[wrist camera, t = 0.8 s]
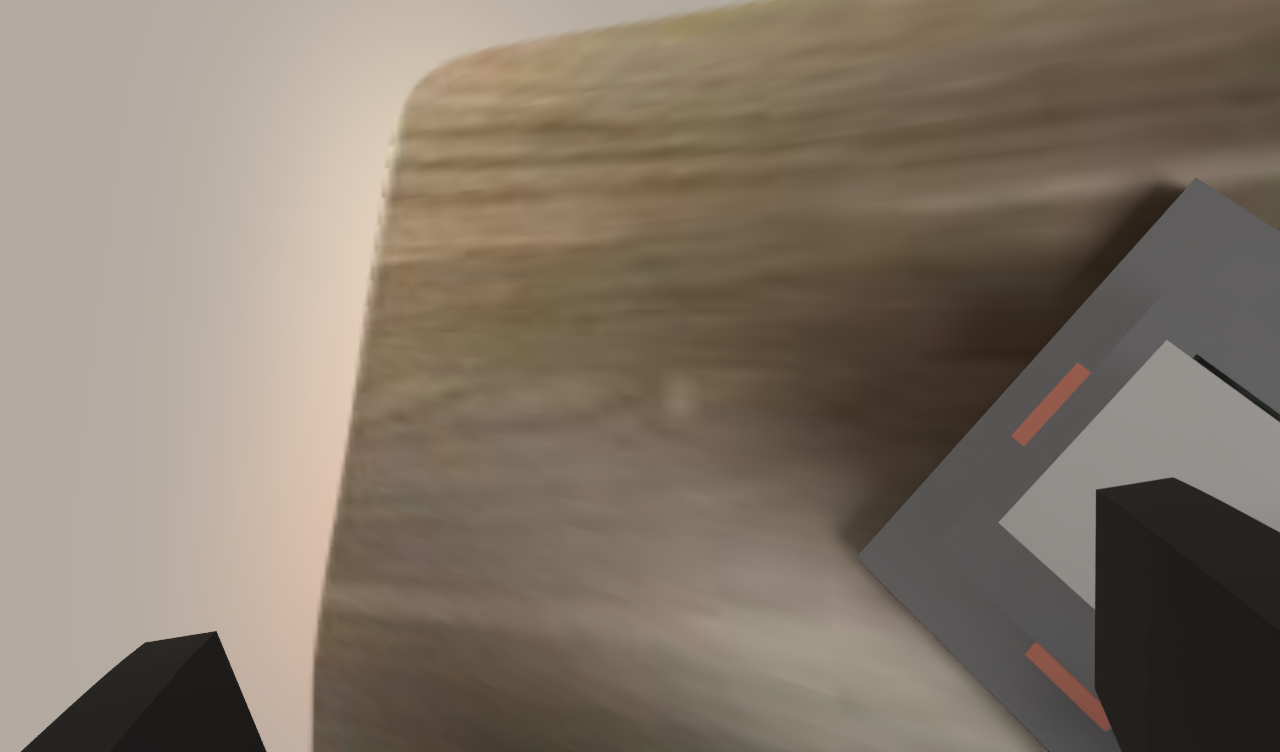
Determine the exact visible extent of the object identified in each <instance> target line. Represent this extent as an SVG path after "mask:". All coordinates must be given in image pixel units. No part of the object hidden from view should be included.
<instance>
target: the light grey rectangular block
mask: <svg viewBox="0 0 1280 752" xmlns="http://www.w3.org/2000/svg"><path fill="white" fill-rule="evenodd" d="M1171 477H1174V478H1176V479H1178V480H1180V481H1182V482H1185V483H1187V484H1189V485H1191V486H1193V487H1195V488H1197V489H1199V490H1201V491H1203V492H1205V493H1207V494H1209V495H1211V496H1213V497H1215V498H1217V499H1219V500H1221V501H1222V502H1224V503H1226V504H1228V505H1230V506H1232V507H1234V508H1236V509H1238V510H1239V511H1241V512H1243V513H1245V514H1247V515H1249V516H1251V517H1253V518H1254V519H1256V520H1258V521H1260V522H1262V523H1264V524H1266V525H1267V526H1269V527H1271V528H1273V529H1275V530H1277V531H1278V532H1280V422H1279V421H1277V420H1276V419H1274V418H1273V417H1272V416H1270V415H1269V414H1268V413H1266V412H1265V411H1263V410H1262V409H1261V408H1259V407H1258V406H1257V405H1255V404H1254V403H1253V402H1251V401H1250V400H1248V399H1247V398H1246V397H1244V396H1243V395H1242V394H1240V393H1239V392H1237V391H1236V390H1235V389H1233V388H1232V387H1231V386H1229V385H1228V384H1227V383H1225V382H1224V381H1222V380H1221V379H1220V378H1218V377H1217V376H1216V375H1214V374H1213V373H1211V372H1210V371H1209V370H1207V369H1206V368H1205V367H1203V366H1202V365H1201V364H1199V363H1198V362H1196V361H1195V360H1194V359H1192V358H1191V357H1190V356H1188V355H1187V354H1185V353H1184V352H1183V351H1181V350H1180V349H1179V348H1177V347H1176V346H1174V345H1173V344H1172V343H1170V342H1169V341H1168V340H1166V341H1165V342H1164V343H1163V345H1162V346H1161V347H1160V348H1159V349H1158V350H1157V351H1156V352H1155V353H1154V354H1153V355H1152V356H1151V358H1150V359H1149V360H1148V361H1147V362H1146V363H1145V364H1144V365H1143V366H1142V367H1141V368H1140V369H1139V371H1138V372H1137V373H1136V374H1135V375H1134V376H1133V377H1132V378H1131V379H1130V380H1129V381H1128V382H1127V384H1126V385H1125V386H1124V387H1123V388H1122V389H1121V390H1120V391H1119V392H1118V393H1117V394H1116V395H1115V397H1114V398H1113V399H1112V400H1111V401H1110V402H1109V403H1108V404H1107V405H1106V406H1105V407H1104V409H1103V410H1102V411H1101V412H1100V413H1099V414H1098V415H1097V416H1096V417H1095V418H1094V419H1093V420H1092V422H1091V423H1090V424H1089V425H1088V426H1087V427H1086V428H1085V429H1084V430H1083V431H1082V432H1081V433H1080V435H1079V436H1078V437H1077V438H1076V439H1075V440H1074V441H1073V442H1072V443H1071V444H1070V445H1069V446H1068V448H1067V449H1066V450H1065V451H1064V452H1063V453H1062V454H1061V455H1060V456H1059V457H1058V458H1057V459H1056V461H1055V462H1054V463H1053V464H1052V465H1051V466H1050V467H1049V468H1048V469H1047V470H1046V471H1045V472H1044V474H1043V475H1042V476H1041V477H1040V478H1039V479H1038V480H1037V481H1036V482H1035V483H1034V484H1033V485H1032V487H1031V488H1030V489H1029V490H1028V491H1027V492H1026V493H1025V494H1024V495H1023V496H1022V497H1021V498H1020V500H1019V501H1018V502H1017V503H1016V504H1015V505H1014V506H1013V507H1012V508H1011V509H1010V510H1009V511H1008V513H1007V514H1006V515H1005V516H1004V517H1003V518H1002V519H1001V520H1000V521H999V522H998V523H999V524H1000V525H1002V526H1003V527H1004V528H1005V529H1006V530H1007V531H1008V532H1009V533H1010V534H1012V535H1013V536H1014V537H1015V538H1016V539H1017V540H1018V541H1019V542H1020V543H1022V544H1023V545H1024V546H1025V547H1026V548H1027V549H1028V550H1029V551H1030V552H1031V553H1033V554H1034V555H1035V556H1036V557H1037V558H1038V559H1039V560H1040V561H1041V562H1043V563H1044V564H1045V565H1046V566H1047V567H1048V568H1049V569H1050V570H1051V571H1053V572H1054V573H1055V574H1056V575H1057V576H1058V577H1059V578H1060V579H1061V580H1063V581H1064V582H1065V583H1066V584H1067V585H1068V586H1069V587H1070V588H1071V589H1073V590H1074V591H1075V592H1076V593H1077V594H1078V595H1079V596H1080V597H1081V598H1082V599H1084V600H1085V601H1086V602H1087V603H1088V604H1089V605H1090V606H1091V607H1092V608H1094V609H1095V537H1096V490H1097V489H1103V488H1109V487H1115V486H1121V485H1128V484H1134V483H1140V482H1146V481H1152V480H1159V479H1165V478H1171Z"/></svg>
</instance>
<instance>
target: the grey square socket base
mask: <svg viewBox="0 0 1280 752" xmlns="http://www.w3.org/2000/svg"><path fill="white" fill-rule="evenodd" d="M1166 340H1168V341H1169V342H1170V343H1172V344H1173V345H1174V346H1176V347H1177V348H1179V349H1180V350H1181V351H1183V352H1184V353H1185V354H1187V355H1188V356H1190V357H1191V358H1192V359H1194V360H1195V361H1196V362H1198V363H1199V364H1201V365H1202V366H1203V367H1205V368H1206V369H1207V370H1209V371H1210V372H1211V373H1213V374H1214V375H1216V376H1217V377H1218V378H1220V379H1221V380H1222V381H1224V382H1225V383H1227V384H1228V385H1229V386H1231V387H1232V388H1233V389H1235V390H1236V391H1237V392H1239V393H1240V394H1242V395H1243V396H1244V397H1246V398H1247V399H1248V400H1250V401H1251V402H1253V403H1254V404H1255V405H1257V406H1258V407H1259V408H1261V409H1262V410H1263V411H1265V412H1266V413H1268V414H1269V415H1270V416H1272V417H1273V418H1274V419H1276V420H1277V421H1279V422H1280V231H1279V230H1277V229H1275V228H1274V227H1272V226H1271V225H1269V224H1268V223H1266V222H1264V221H1263V220H1261V219H1260V218H1258V217H1257V216H1255V215H1253V214H1252V213H1250V212H1249V211H1247V210H1246V209H1244V208H1243V207H1241V206H1239V205H1238V204H1236V203H1235V202H1233V201H1232V200H1230V199H1228V198H1227V197H1225V196H1224V195H1222V194H1221V193H1219V192H1217V191H1216V190H1214V189H1213V188H1211V187H1210V186H1208V185H1206V184H1205V183H1203V182H1202V181H1200V180H1199V179H1197V178H1195V179H1194V180H1193V182H1192V183H1191V184H1190V185H1189V186H1188V187H1187V188H1186V189H1185V191H1184V192H1183V193H1182V194H1181V195H1180V196H1179V197H1178V198H1177V199H1176V201H1175V202H1174V203H1173V204H1172V205H1171V206H1170V207H1169V208H1168V210H1167V211H1166V212H1165V213H1164V214H1163V215H1162V216H1161V217H1160V218H1159V220H1158V221H1157V222H1156V223H1155V224H1154V225H1153V226H1152V227H1151V228H1150V230H1149V231H1148V232H1147V233H1146V234H1145V235H1144V236H1143V237H1142V239H1141V240H1140V241H1139V242H1138V243H1137V244H1136V245H1135V246H1134V247H1133V249H1132V250H1131V251H1130V252H1129V253H1128V254H1127V255H1126V256H1125V258H1124V259H1123V260H1122V261H1121V262H1120V263H1119V264H1118V265H1117V266H1116V268H1115V269H1114V270H1113V271H1112V272H1111V273H1110V274H1109V275H1108V277H1107V278H1106V279H1105V280H1104V281H1103V282H1102V283H1101V284H1100V285H1099V287H1098V288H1097V289H1096V290H1095V291H1094V292H1093V293H1092V294H1091V296H1090V297H1089V298H1088V299H1087V300H1086V301H1085V302H1084V303H1083V304H1082V306H1081V307H1080V308H1079V309H1078V310H1077V311H1076V312H1075V313H1074V315H1073V316H1072V317H1071V318H1070V319H1069V320H1068V321H1067V322H1066V323H1065V325H1064V326H1063V327H1062V328H1061V329H1060V330H1059V331H1058V332H1057V334H1056V335H1055V336H1054V337H1053V338H1052V339H1051V340H1050V341H1049V342H1048V344H1047V345H1046V346H1045V347H1044V348H1043V349H1042V350H1041V351H1040V352H1039V354H1038V355H1037V356H1036V357H1035V358H1034V359H1033V360H1032V361H1031V363H1030V364H1029V365H1028V366H1027V367H1026V368H1025V369H1024V370H1023V371H1022V373H1021V374H1020V375H1019V376H1018V377H1017V378H1016V379H1015V380H1014V382H1013V383H1012V384H1011V385H1010V386H1009V387H1008V388H1007V389H1006V390H1005V392H1004V393H1003V394H1002V395H1001V396H1000V397H999V398H998V399H997V401H996V402H995V403H994V404H993V405H992V406H991V407H990V408H989V409H988V411H987V412H986V413H985V414H984V415H983V416H982V417H981V418H980V420H979V421H978V422H977V423H976V424H975V425H974V426H973V427H972V428H971V430H970V431H969V432H968V433H967V434H966V435H965V436H964V437H963V439H962V440H961V441H960V442H959V443H958V444H957V445H956V446H955V447H954V449H953V450H952V451H951V452H950V453H949V454H948V455H947V456H946V458H945V459H944V460H943V461H942V462H941V463H940V464H939V465H938V466H937V468H936V469H935V470H934V471H933V472H932V473H931V474H930V475H929V476H928V478H927V479H926V480H925V481H924V482H923V483H922V484H921V485H920V487H919V488H918V489H917V490H916V491H915V492H914V493H913V494H912V495H911V497H910V498H909V499H908V500H907V501H906V502H905V503H904V504H903V506H902V507H901V508H900V509H899V510H898V511H897V512H896V513H895V514H894V516H893V517H892V518H891V519H890V520H889V521H888V522H887V523H886V525H885V526H884V527H883V528H882V529H881V530H880V531H879V532H878V533H877V535H876V536H875V537H874V538H873V539H872V540H871V541H870V542H869V544H868V545H867V546H866V547H865V548H864V549H863V550H862V551H861V552H860V554H859V555H858V556H857V557H856V558H857V559H858V560H859V561H860V562H861V563H862V564H863V565H864V566H865V567H866V568H867V569H868V570H869V571H870V572H871V573H872V574H873V575H874V576H875V577H876V578H877V579H878V580H879V581H880V582H881V583H882V584H883V585H884V586H885V587H886V588H887V589H888V590H889V591H890V592H891V593H892V594H893V595H894V596H895V597H896V598H897V599H898V600H899V601H900V602H901V603H902V604H903V605H904V606H905V607H906V608H907V609H908V610H909V611H910V612H911V613H912V614H913V615H914V616H915V617H916V618H917V619H918V620H919V621H920V622H921V623H922V624H923V625H924V626H925V627H926V628H927V629H928V630H929V631H930V632H931V633H932V634H933V635H934V636H935V637H936V638H937V639H938V640H939V641H940V642H941V643H942V644H943V645H944V646H945V647H946V648H947V649H948V650H949V651H950V652H951V653H952V654H953V655H954V656H955V657H956V658H957V659H958V660H959V661H960V662H961V663H962V664H963V665H964V666H965V667H966V668H967V669H968V670H969V671H970V672H971V673H972V674H973V675H974V676H975V677H976V678H977V679H978V680H979V681H980V682H981V683H982V684H983V685H984V686H985V687H986V688H987V689H988V690H989V691H990V692H991V693H992V694H993V695H994V696H995V697H996V698H997V699H998V700H999V701H1000V702H1001V703H1002V704H1003V705H1004V706H1005V707H1006V708H1007V709H1008V710H1009V711H1010V712H1011V713H1012V714H1013V715H1014V716H1015V717H1016V718H1017V719H1018V720H1019V722H1020V723H1021V724H1022V725H1023V726H1024V727H1025V728H1026V729H1027V730H1028V731H1029V732H1030V733H1031V734H1032V735H1033V736H1034V737H1035V738H1036V739H1037V740H1038V741H1039V742H1040V743H1041V744H1042V745H1043V746H1044V747H1045V748H1046V749H1047V750H1048V751H1049V752H1121V749H1120V747H1119V745H1118V742H1117V740H1116V738H1115V735H1114V733H1113V730H1112V728H1111V726H1110V723H1109V721H1108V719H1107V716H1106V714H1105V712H1104V709H1103V707H1102V705H1101V702H1100V700H1099V698H1098V695H1097V693H1096V691H1095V609H1094V608H1092V607H1091V606H1090V605H1089V604H1088V603H1087V602H1086V601H1085V600H1084V599H1082V598H1081V597H1080V596H1079V595H1078V594H1077V593H1076V592H1075V591H1074V590H1073V589H1071V588H1070V587H1069V586H1068V585H1067V584H1066V583H1065V582H1064V581H1063V580H1061V579H1060V578H1059V577H1058V576H1057V575H1056V574H1055V573H1054V572H1053V571H1051V570H1050V569H1049V568H1048V567H1047V566H1046V565H1045V564H1044V563H1043V562H1041V561H1040V560H1039V559H1038V558H1037V557H1036V556H1035V555H1034V554H1033V553H1031V552H1030V551H1029V550H1028V549H1027V548H1026V547H1025V546H1024V545H1023V544H1022V543H1020V542H1019V541H1018V540H1017V539H1016V538H1015V537H1014V536H1013V535H1012V534H1010V533H1009V532H1008V531H1007V530H1006V529H1005V528H1004V527H1003V526H1002V525H1000V524H999V523H998V522H999V521H1000V520H1001V519H1002V518H1003V517H1004V516H1005V515H1006V514H1007V513H1008V511H1009V510H1010V509H1011V508H1012V507H1013V506H1014V505H1015V504H1016V503H1017V502H1018V501H1019V500H1020V498H1021V497H1022V496H1023V495H1024V494H1025V493H1026V492H1027V491H1028V490H1029V489H1030V488H1031V487H1032V485H1033V484H1034V483H1035V482H1036V481H1037V480H1038V479H1039V478H1040V477H1041V476H1042V475H1043V474H1044V472H1045V471H1046V470H1047V469H1048V468H1049V467H1050V466H1051V465H1052V464H1053V463H1054V462H1055V461H1056V459H1057V458H1058V457H1059V456H1060V455H1061V454H1062V453H1063V452H1064V451H1065V450H1066V449H1067V448H1068V446H1069V445H1070V444H1071V443H1072V442H1073V441H1074V440H1075V439H1076V438H1077V437H1078V436H1079V435H1080V433H1081V432H1082V431H1083V430H1084V429H1085V428H1086V427H1087V426H1088V425H1089V424H1090V423H1091V422H1092V420H1093V419H1094V418H1095V417H1096V416H1097V415H1098V414H1099V413H1100V412H1101V411H1102V410H1103V409H1104V407H1105V406H1106V405H1107V404H1108V403H1109V402H1110V401H1111V400H1112V399H1113V398H1114V397H1115V395H1116V394H1117V393H1118V392H1119V391H1120V390H1121V389H1122V388H1123V387H1124V386H1125V385H1126V384H1127V382H1128V381H1129V380H1130V379H1131V378H1132V377H1133V376H1134V375H1135V374H1136V373H1137V372H1138V371H1139V369H1140V368H1141V367H1142V366H1143V365H1144V364H1145V363H1146V362H1147V361H1148V360H1149V359H1150V358H1151V356H1152V355H1153V354H1154V353H1155V352H1156V351H1157V350H1158V349H1159V348H1160V347H1161V346H1162V345H1163V343H1164V342H1165V341H1166Z"/></svg>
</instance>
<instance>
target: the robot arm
mask: <svg viewBox="0 0 1280 752" xmlns="http://www.w3.org/2000/svg"><path fill="white" fill-rule="evenodd" d="M1095 691H1096V693H1097V695H1098V698H1099V700H1100V702H1101V705H1102V707H1103V709H1104V712H1105V714H1106V716H1107V719H1108V721H1109V723H1110V726H1111V728H1112V730H1113V733H1114V735H1115V738H1116V740H1117V742H1118V745H1119V747H1120V749H1121V752H1280V532H1278V531H1277V530H1275V529H1273V528H1271V527H1269V526H1267V525H1266V524H1264V523H1262V522H1260V521H1258V520H1256V519H1254V518H1253V517H1251V516H1249V515H1247V514H1245V513H1243V512H1241V511H1239V510H1238V509H1236V508H1234V507H1232V506H1230V505H1228V504H1226V503H1224V502H1222V501H1221V500H1219V499H1217V498H1215V497H1213V496H1211V495H1209V494H1207V493H1205V492H1203V491H1201V490H1199V489H1197V488H1195V487H1193V486H1191V485H1189V484H1187V483H1185V482H1182V481H1180V480H1178V479H1176V478H1174V477H1171V478H1165V479H1159V480H1152V481H1146V482H1140V483H1134V484H1128V485H1121V486H1115V487H1109V488H1103V489H1097V490H1096V537H1095ZM21 752H266V750H265V747H264V745H263V742H262V741H261V737H260V735H259V733H258V730H257V728H256V725H255V723H254V721H253V718H252V716H251V713H250V711H249V709H248V706H247V704H246V701H245V699H244V697H243V694H242V692H241V690H240V687H239V684H238V682H237V680H236V677H235V675H234V672H233V670H232V668H231V665H230V663H229V660H228V658H227V656H226V653H225V651H224V648H223V646H222V644H221V641H220V639H219V637H218V634H217V632H216V631H214V632H208V633H202V634H196V635H190V636H183V637H178V638H171V639H165V640H159V641H153V642H146V643H144V644H143V645H141V646H140V647H139V648H138V649H136V650H135V651H134V652H133V653H131V654H130V655H129V656H128V657H126V658H125V659H124V660H122V661H121V662H120V663H119V664H118V665H117V666H115V667H114V668H113V669H112V670H111V671H109V672H108V673H107V674H106V675H105V676H104V677H103V678H101V679H100V680H99V681H98V682H97V683H96V684H95V685H93V686H92V687H91V688H90V689H89V690H88V691H87V692H86V693H85V694H83V695H82V696H81V697H80V698H79V699H78V700H77V701H76V702H74V703H73V704H72V705H71V706H70V707H69V708H68V709H67V710H66V711H65V712H63V713H62V714H61V715H60V716H59V717H58V718H57V719H56V720H55V721H54V722H53V723H52V724H50V725H49V726H48V727H47V728H46V729H45V730H44V731H43V732H42V733H41V734H40V735H38V737H36V738H35V739H34V740H33V741H32V742H31V743H30V744H29V745H28V746H26V747H25V748H24V749H23V750H22V751H21Z"/></svg>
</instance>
